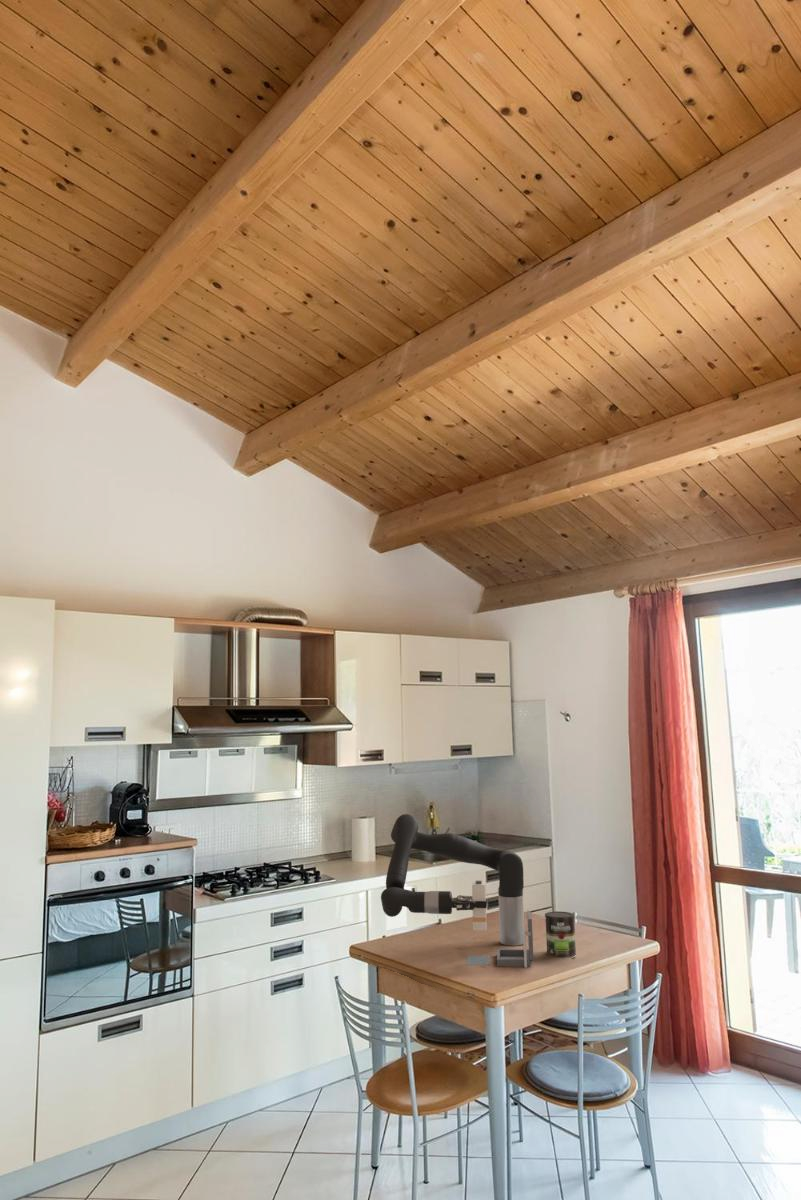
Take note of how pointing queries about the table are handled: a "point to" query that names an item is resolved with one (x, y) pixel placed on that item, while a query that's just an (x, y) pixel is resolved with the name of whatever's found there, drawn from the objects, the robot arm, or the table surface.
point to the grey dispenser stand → (518, 950)
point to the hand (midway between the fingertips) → (486, 903)
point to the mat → (478, 960)
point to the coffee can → (560, 934)
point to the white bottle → (479, 913)
